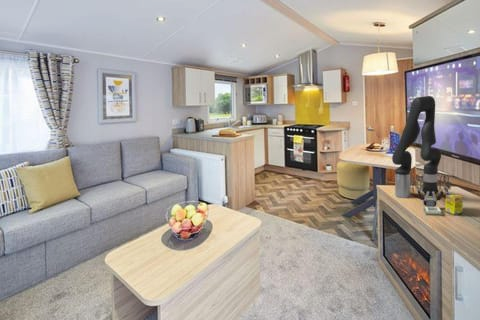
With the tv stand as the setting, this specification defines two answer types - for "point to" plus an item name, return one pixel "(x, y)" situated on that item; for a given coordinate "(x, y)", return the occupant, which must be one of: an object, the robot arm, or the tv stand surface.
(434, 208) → the socket board
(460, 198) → the supplement box
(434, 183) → the robot arm
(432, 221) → the tv stand surface
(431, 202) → the plug
